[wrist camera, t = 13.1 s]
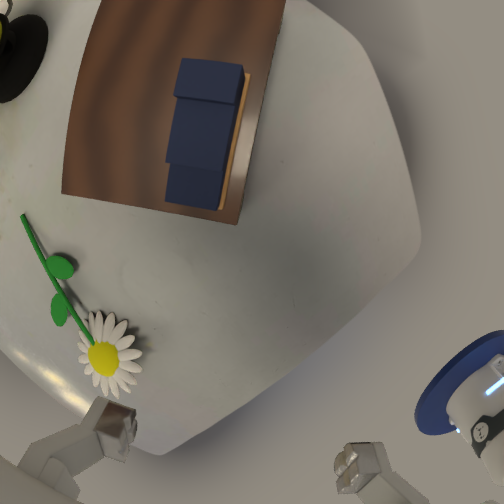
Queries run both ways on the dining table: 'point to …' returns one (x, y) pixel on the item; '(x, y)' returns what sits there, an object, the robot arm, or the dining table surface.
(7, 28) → the lantern
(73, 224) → the dining table surface
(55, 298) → the decorative flower
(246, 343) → the dining table surface
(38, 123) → the dining table surface
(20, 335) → the dining table surface
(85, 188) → the brown wooden stand
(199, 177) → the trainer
